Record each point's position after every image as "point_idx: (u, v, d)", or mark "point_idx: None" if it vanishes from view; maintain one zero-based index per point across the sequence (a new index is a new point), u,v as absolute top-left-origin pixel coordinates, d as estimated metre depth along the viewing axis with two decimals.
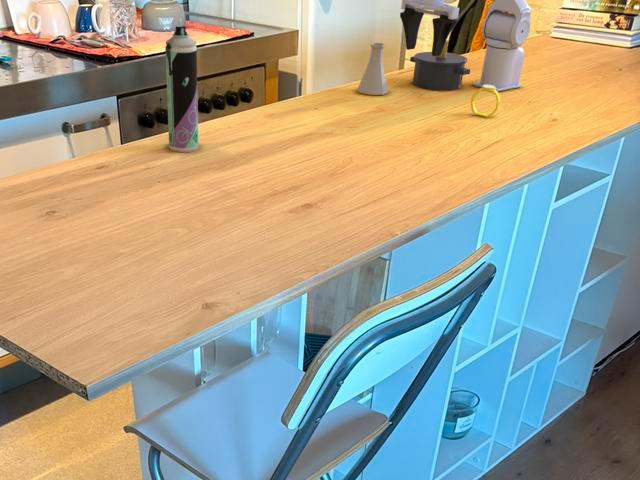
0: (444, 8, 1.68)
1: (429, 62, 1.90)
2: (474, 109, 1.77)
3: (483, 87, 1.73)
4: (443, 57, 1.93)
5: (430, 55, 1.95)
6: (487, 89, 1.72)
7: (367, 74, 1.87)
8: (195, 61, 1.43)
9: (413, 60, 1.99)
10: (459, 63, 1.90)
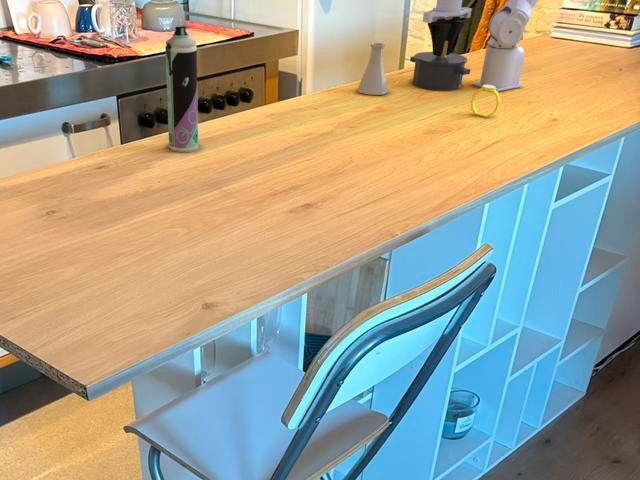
0: None
1: (429, 62, 1.90)
2: (474, 109, 1.77)
3: (483, 87, 1.73)
4: (443, 57, 1.93)
5: (430, 55, 1.95)
6: (487, 89, 1.72)
7: (367, 74, 1.87)
8: (195, 61, 1.43)
9: (413, 60, 1.99)
10: (459, 63, 1.90)
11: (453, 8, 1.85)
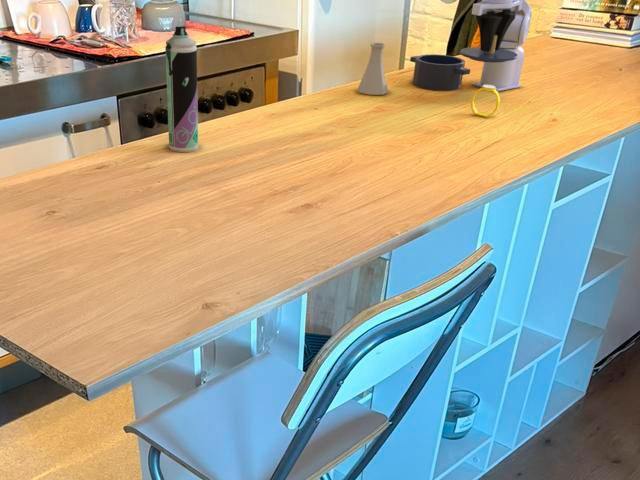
0: None
1: (477, 58, 1.77)
2: (474, 109, 1.77)
3: (483, 87, 1.73)
4: (491, 52, 1.80)
5: (477, 50, 1.82)
6: (487, 89, 1.72)
7: (367, 74, 1.87)
8: (195, 61, 1.43)
9: (413, 60, 1.99)
10: (509, 59, 1.77)
11: None
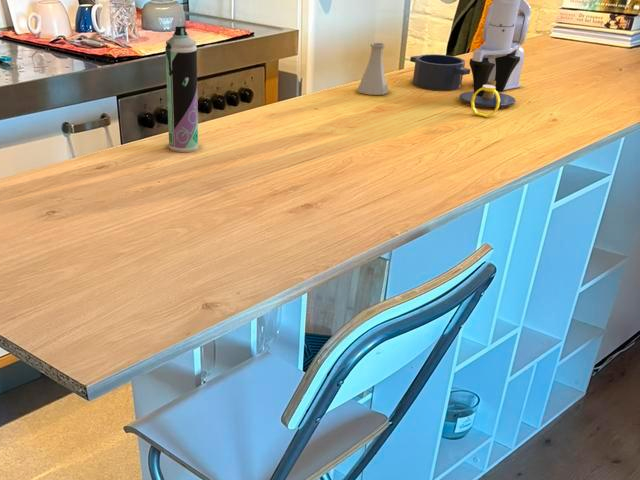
0: (477, 50, 1.77)
1: (478, 104, 1.81)
2: (474, 109, 1.77)
3: (483, 87, 1.73)
4: (490, 98, 1.84)
5: None
6: (487, 89, 1.72)
7: (367, 74, 1.87)
8: (195, 61, 1.43)
9: (413, 60, 1.99)
10: (509, 104, 1.82)
11: (504, 45, 1.76)
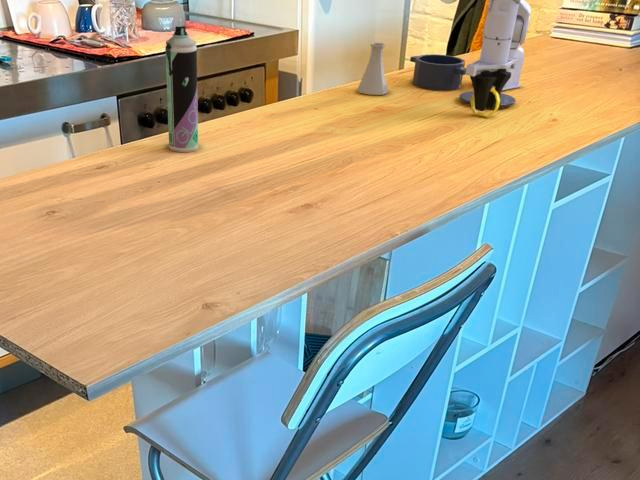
0: (513, 60, 1.72)
1: None
2: (474, 109, 1.77)
3: None
4: None
5: None
6: None
7: (367, 74, 1.87)
8: (195, 61, 1.43)
9: (413, 60, 1.99)
10: (509, 104, 1.82)
11: None
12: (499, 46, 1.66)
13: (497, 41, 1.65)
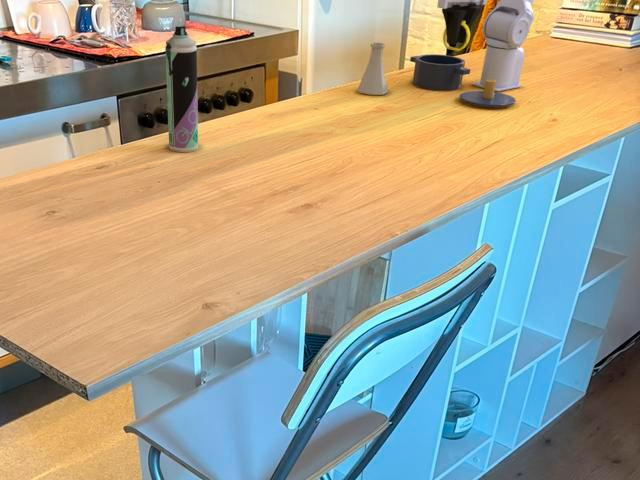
0: None
1: (478, 104, 1.81)
2: (446, 43, 1.86)
3: None
4: (490, 98, 1.84)
5: (476, 95, 1.86)
6: None
7: (367, 74, 1.87)
8: (195, 61, 1.43)
9: (413, 60, 1.99)
10: (509, 104, 1.82)
11: None
12: None
13: None
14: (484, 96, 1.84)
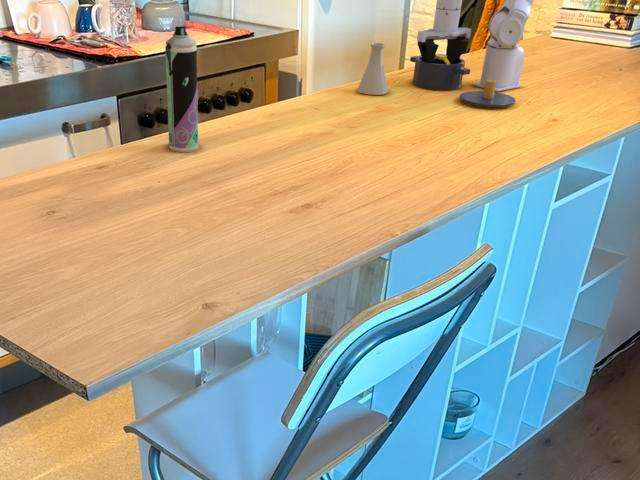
0: (465, 30, 1.92)
1: (478, 104, 1.81)
2: None
3: (435, 56, 1.94)
4: (490, 98, 1.84)
5: (476, 95, 1.86)
6: (438, 57, 1.93)
7: (367, 74, 1.87)
8: (195, 61, 1.43)
9: (413, 60, 1.99)
10: (509, 104, 1.82)
11: None
12: (447, 15, 1.86)
13: (445, 11, 1.86)
14: (484, 96, 1.84)
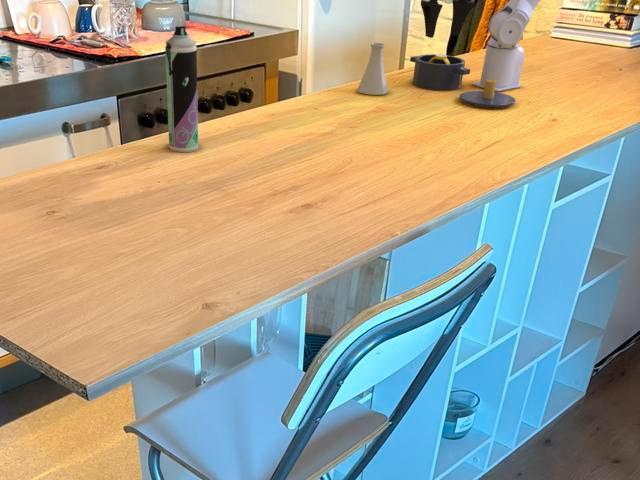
0: None
1: (478, 104, 1.81)
2: None
3: (435, 56, 1.94)
4: (490, 98, 1.84)
5: (476, 95, 1.86)
6: (438, 57, 1.93)
7: (367, 74, 1.87)
8: (195, 61, 1.43)
9: (413, 60, 1.99)
10: (509, 104, 1.82)
11: None
12: None
13: None
14: (484, 96, 1.84)
